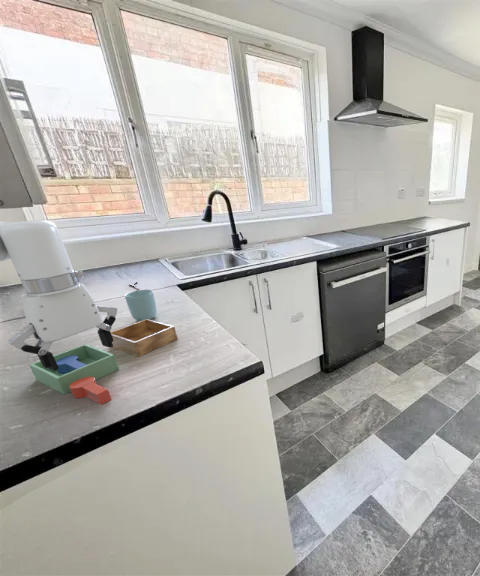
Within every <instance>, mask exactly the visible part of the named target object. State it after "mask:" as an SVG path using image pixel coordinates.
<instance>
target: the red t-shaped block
mask: <svg viewBox="0 0 480 576" xmlns="http://www.w3.org/2000/svg"><path fill="white" fill-rule="evenodd" d="M69 388H70V390H71V392H70V393H71V395H72V398H74V399H83V398H86V399H89V400H90V401H93V402H94V403H96V404H98V405H101V406H102V405H105V404H106V403H108V402H109V401H112V397H111V394H110V391H109V389H108V388H105V387H104V386H102V385H99V384H98V383H97V380H95V378H94V377H85V378H82V379H79V380H76V381H75V382H73V383H71V384H70V386H69Z"/></svg>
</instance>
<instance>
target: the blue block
mask: <svg viewBox="0 0 480 576" xmlns="http://www.w3.org/2000/svg"><path fill="white" fill-rule="evenodd" d="M56 363H57V365H58V367H59V368H58V370H57V371H58V373H59V374H66V373H69V372H72V371H74V370H76V369H79V368H81V367H84V366H86V364H84V363H81V362H80V361H79V359H78V356H68V357H64V358H61V359H59V360H57V361H56Z"/></svg>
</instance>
